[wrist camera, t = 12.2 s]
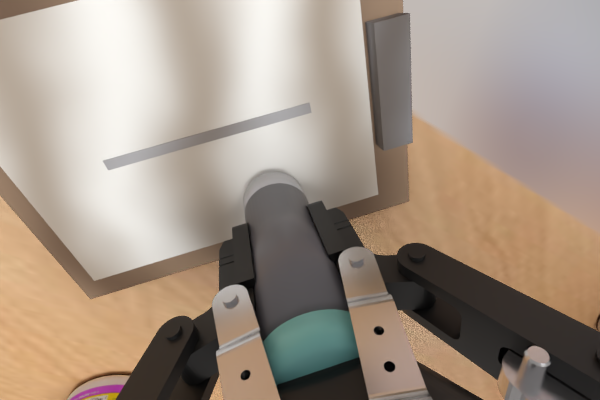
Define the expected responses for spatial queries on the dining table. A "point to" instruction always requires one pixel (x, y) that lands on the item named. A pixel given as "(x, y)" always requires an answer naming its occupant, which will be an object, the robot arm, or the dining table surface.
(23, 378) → the dining table surface
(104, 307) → the dining table surface
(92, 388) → the supplement bottle
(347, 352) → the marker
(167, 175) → the clipboard
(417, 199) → the dining table surface
